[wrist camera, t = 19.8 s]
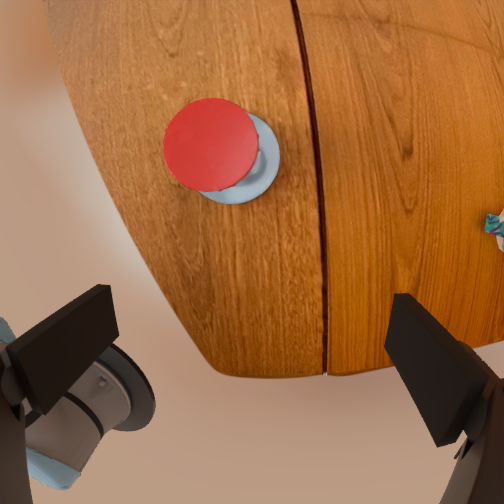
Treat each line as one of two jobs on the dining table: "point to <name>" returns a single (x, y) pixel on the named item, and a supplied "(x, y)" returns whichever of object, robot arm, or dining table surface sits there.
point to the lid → (211, 145)
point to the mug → (496, 228)
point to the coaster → (263, 173)
